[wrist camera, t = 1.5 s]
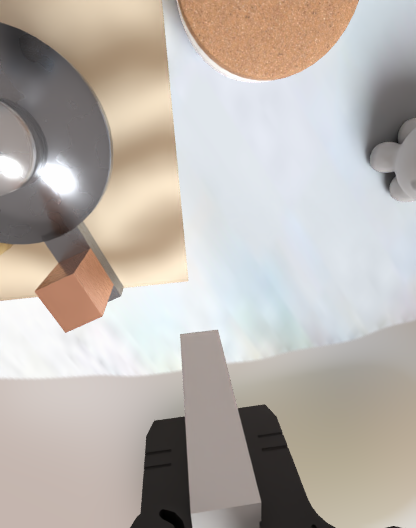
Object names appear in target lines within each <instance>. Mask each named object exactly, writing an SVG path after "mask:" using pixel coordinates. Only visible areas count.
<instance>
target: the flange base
mask: <svg viewBox="0 0 416 528" xmlns="http://www.w3.org/2000/svg"><path fill="white" fill-rule="evenodd" d="M0 22H1V23H5V24H7V25H10V26H13V27H15V28H18V29H21V30H23V31H25V32H27V33H29V34H30V35H32V36H34V37H36V38H38V39H39V40H41V41H42V42H44V43H45V44H47V45H48V46H50V47H51V48H53V49H54V50H55V51H57V52H58V53H60V54H61V55H62V56H63V57H64V58H65V59H67V60H68V61H69V62H70V63H71V64H72V65H73V66H74V67H75V68H76V69H77V70H78V71H79V72H80V73H81V74H82V75H83V76H84V78H85V79H86V80H87V82H88V83H89V84H90V86H91V87H92V89H93V90H94V92H95V94H96V95H97V97H98V99H99V100H100V102H101V105H102V107H103V109H104V111H105V114H106V116H107V120H108V123H109V126H110V130H111V135H112V140H113V154H114V155H113V168H112V173H111V178H110V181H109V184H108V187H107V190H106V192H105V194H104V196H103V197H102V199H101V201H100V202H99V204H98V205H97V207H96V208H95V209H94V210H93V211H92V212H91V213H90V215H89V216H88V217H87V218H86V219H85V220H84V221H83V222H84V223H85V225H86V227H87V228H88V230H89V231H90V233H91V235H92V236H93V238H94V240H95V241H96V243H97V244H98V246H99V248H100V249H101V251H102V252H103V254H104V256H105V257H106V259H107V261H108V262H109V264H110V265H111V267H112V269H113V270H114V272H115V273H116V275H117V277H118V278H119V280H120V282H121V283H122V285H123V286H124V287H123V288H127V287H137V286H147V285H156V284H166V283H175V282H185V281H188V272H187V262H186V251H185V240H184V230H183V219H182V209H181V198H180V188H179V177H178V166H177V156H176V145H175V135H174V124H173V113H172V103H171V92H170V82H169V71H168V61H167V50H166V39H165V29H164V18H163V8H162V0H0ZM57 264H58V261H57V260H56V259H55V257H54V256H53V254H52V253H51V251H50V250H49V248H48V247H47V246H46V244H45V243H44V242H41V243H34V244H6V243H0V301H3V300H12V299H22V298H31V297H38V296H37V294H36V293H35V292H34V291H35V290H36V289H37V288H38V287H39V285H40V284H41V283H42V282H43V281H44V279H45V278H46V277H47V276H48V275H49V273H50V272H51V271H52V270H53V269H54V268H55V266H56V265H57Z"/></svg>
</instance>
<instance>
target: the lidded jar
mask: <svg viewBox="0 0 416 528" xmlns="http://www.w3.org/2000/svg"><path fill="white" fill-rule="evenodd" d="M358 1H359V0H177V6H178V11H179V14H180V17H181V20H182V24H183V27H184V30H185V32H186V34H187V36H188V38H189V40H190V42H191V44H192V45H193V47H194V48H195V50H196V51H197V53H198V54H199V55H200V56H201V58H202V59H203V60H204V61H205V62H206V63H207V64H208V65H209V66H211V67H212V68H213V69H214V70H215V71H217V72H219V73H221V74H222V75H224V76H226V77H228V78H231V79H234V80H237V81H242V82H250V83H251V82H267V81H272V80H276V79H281V78H286V77H288V76H291V75H293V74H296V73H298V72H301V71H302V70H304V69H306V68H308V67H309V66H311V65H313V64H314V63H315V62H317V61H318V60H319V59H320V58H322V57H323V56H324V55H325V54H326V53H327V52H328V51H329V50H330V49H331V48H332V47H333V46H334V44H335V43H336V42H337V41H338V39H339V38H340V36H341V35H342V34H343V32H344V31H345V29H346V27H347V26H348V24H349V22H350V20H351V18H352V16H353V14H354V12H355V9H356V6H357V4H358Z"/></svg>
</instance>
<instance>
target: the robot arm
mask: <svg viewBox="0 0 416 528" xmlns="http://www.w3.org/2000/svg"><path fill="white" fill-rule="evenodd" d="M180 338H181V356H182V373H183V389H184V407H185V417H178V418H171V419H163V420H156V421H154V422H153V424H152V426H151V428H150V430H149V432H148V434H147V436H146V450H145V462H144V477H143V489H142V503H141V514H140V515H139V516H138V517H137V518H136V519H135V521H134V522H133V524H132V526H131V527H130V528H335V527H333V526H331V525H330V524H328V523H327V522H325V521H324V520H323V519H322V518H321V517H320V516H318V514H317V513H316V512H315V510H314V509H313V508H312V506H311V504H310V502H309V501H308V498H307V496H306V493H305V491H304V488H303V485H302V483H301V480H300V477H299V475H298V472H297V469H296V467H295V464H294V462H293V459H292V456H291V454H290V451H289V449H288V447H287V443H286V441H285V438H284V436H283V435H282V430H281V428H280V425H279V422H278V420H277V417H276V416H275V415H274V414H273V412H272V411H271V410H270V409H268V407H267V406H266V405H258V406H251V407H243V408H237V404H236V400H235V396H234V392H233V389H232V384H231V380H230V376H229V372H228V368H227V364H226V360H225V356H224V352H223V348H222V344H221V340H220V336H219V332H218V330H212V331H204V332H195V333H187V334H180ZM387 528H400V527H395V526H392V527H387Z"/></svg>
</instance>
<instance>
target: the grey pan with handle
mask: <svg viewBox="0 0 416 528" xmlns="http://www.w3.org/2000/svg"><path fill="white" fill-rule="evenodd" d="M113 155H114V154H113V140H112V135H111V130H110V126H109V123H108V120H107V116H106V114H105V111H104V109H103V107H102V105H101V102H100V100H99V99H98V97H97V95H96V94H95V92H94V90H93V89H92V87H91V86H90V84H89V83H88V82H87V80H86V79H85V78H84V76H83V75H82V74H81V73H80V72H79V71H78V70H77V69H76V68H75V67H74V66H73V65H72V64H71V63H70V62H69V61H68V60H67V59H65V58H64V57H63V56H62V55H61V54H60V53H58V52H57V51H55V50H54V49H53V48H51V47H50V46H48V45H47V44H45V43H44V42H42V41H41V40H39V39H38V38H36V37H34V36H32V35H30V34H29V33H27V32H25V31H23V30H21V29H18V28H15V27H13V26H10V25H7V24H5V23H1V22H0V243H6V244H34V243H41V242H44V243H45V244H46V246H47V247H48V248H49V250H50V251H51V253H52V254H53V256H54V257H55V259H56V260H57V261H58V264H57V265H56V266H55V268H54V269H53V270H52V271H51V272H50V273H49V275H48V276H47V277H46V278H45V279H44V281H43V282H42V283H41V284H40V285H39V287H38V288H37V289H36V290H35V291H34V292H35V293H36V294H37V296H38V297H39V298H40V300H41V301H42V302H43V304H44V305H45V306H46V308H47V309H48V310H49V312H50V313H51V314H52V315H53V317H54V318H55V319H56V321H57V322H58V323H59V325H60V326H61V327H62V329H63V330H64V331H65V333H66V332H68V331H71V330H73V329H75V328H77V327H80V326H82V325H84V324H86V323H89V322H91V321H93V320H95V319H97V318H100V317H102V316H103V313H104V311H105V308H106V305H107V302H109V301H111V300H113V299H116V298H118V297H120V296H121V294H122V291H123V287H124V286H123V285H122V283H121V282H120V280H119V278H118V277H117V275H116V273H115V272H114V270H113V269H112V267H111V265H110V264H109V262H108V261H107V259H106V257H105V256H104V254H103V252H102V251H101V249H100V248H99V246H98V244H97V243H96V241H95V240H94V238H93V236H92V235H91V233H90V231H89V230H88V228H87V227H86V225H85V223H84V222H83V221H84V220H85V219H86V218H87V217H88V216H89V215H90V213H91V212H92V211H93V210H94V209H95V208H96V207H97V205H98V204H99V202H100V201H101V199H102V197H103V196H104V194H105V192H106V190H107V187H108V184H109V181H110V178H111V173H112V168H113Z"/></svg>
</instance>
